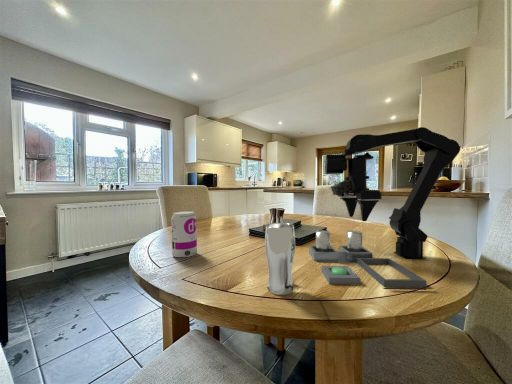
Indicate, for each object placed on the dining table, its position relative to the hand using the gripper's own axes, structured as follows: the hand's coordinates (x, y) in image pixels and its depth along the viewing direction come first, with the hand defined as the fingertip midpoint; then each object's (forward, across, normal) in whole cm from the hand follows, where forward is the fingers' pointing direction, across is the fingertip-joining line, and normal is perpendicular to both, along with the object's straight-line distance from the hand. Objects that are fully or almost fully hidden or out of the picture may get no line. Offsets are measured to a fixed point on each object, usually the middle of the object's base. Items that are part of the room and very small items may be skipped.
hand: (357, 218), depth 71 cm
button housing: (+12, +20, -14) cm, 27 cm away
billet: (+11, +5, -4) cm, 13 cm away
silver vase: (+12, +23, -29) cm, 39 cm away
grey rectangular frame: (+12, +18, -1) cm, 22 cm away
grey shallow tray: (+12, +5, -8) cm, 16 cm away
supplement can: (+12, -1, -60) cm, 61 cm away
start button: (+11, +20, -14) cm, 27 cm away
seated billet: (+11, +5, -14) cm, 18 cm away
